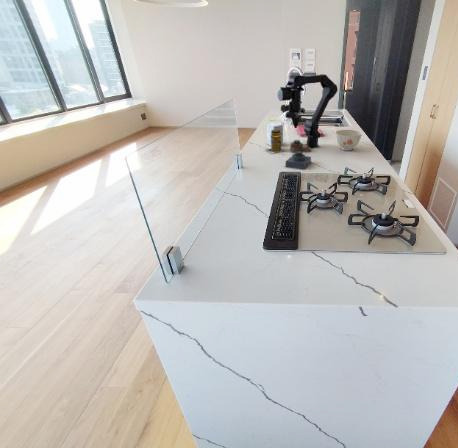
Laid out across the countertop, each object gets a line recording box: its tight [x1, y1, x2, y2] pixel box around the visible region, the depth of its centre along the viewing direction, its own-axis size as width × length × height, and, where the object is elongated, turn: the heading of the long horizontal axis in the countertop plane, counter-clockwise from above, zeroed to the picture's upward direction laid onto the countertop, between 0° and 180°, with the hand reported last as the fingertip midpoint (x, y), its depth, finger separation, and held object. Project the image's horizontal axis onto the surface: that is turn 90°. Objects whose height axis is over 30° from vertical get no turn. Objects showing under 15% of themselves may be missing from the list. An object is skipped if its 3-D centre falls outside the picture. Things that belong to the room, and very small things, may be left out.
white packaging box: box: [266, 122, 284, 146], centre depth 181 cm, size 7×7×13 cm
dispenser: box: [285, 153, 312, 170], centre depth 151 cm, size 12×10×5 cm
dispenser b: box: [290, 141, 311, 154], centre depth 173 cm, size 10×8×4 cm
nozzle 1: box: [293, 139, 301, 144], centre depth 171 cm, size 4×4×2 cm
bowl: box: [334, 129, 363, 151], centre depth 176 cm, size 16×16×10 cm
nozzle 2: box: [294, 151, 303, 157], centre depth 150 cm, size 4×4×2 cm
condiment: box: [266, 130, 284, 154], centre depth 170 cm, size 7×8×12 cm
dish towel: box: [296, 125, 324, 137], centre depth 212 cm, size 17×24×3 cm
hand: (295, 128), depth 169 cm, fingers closed
